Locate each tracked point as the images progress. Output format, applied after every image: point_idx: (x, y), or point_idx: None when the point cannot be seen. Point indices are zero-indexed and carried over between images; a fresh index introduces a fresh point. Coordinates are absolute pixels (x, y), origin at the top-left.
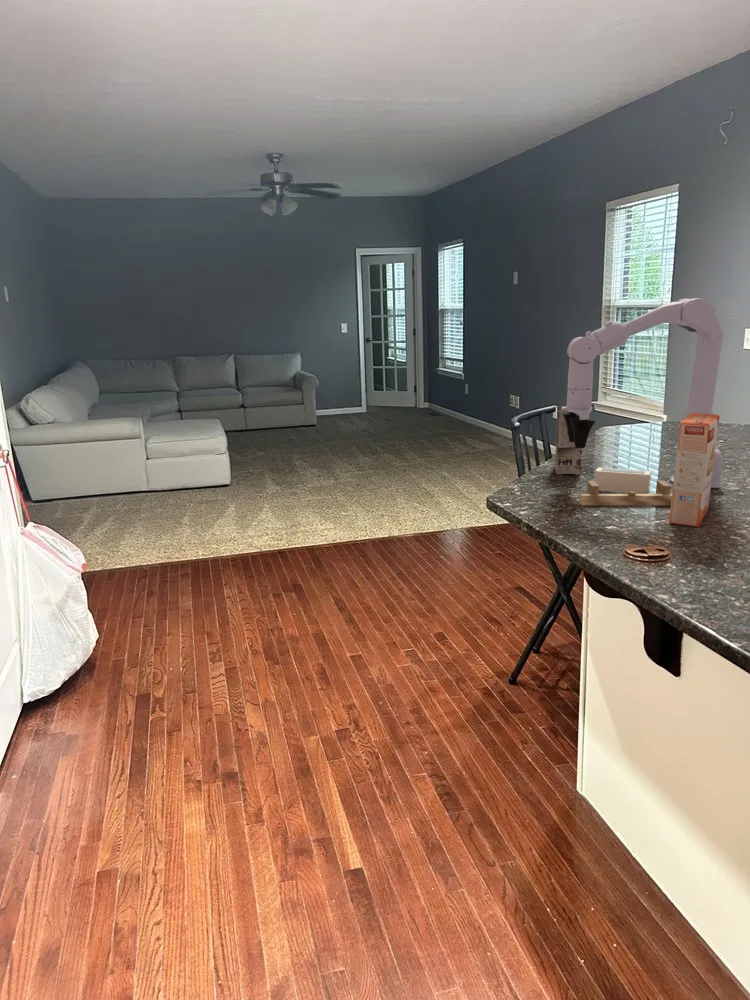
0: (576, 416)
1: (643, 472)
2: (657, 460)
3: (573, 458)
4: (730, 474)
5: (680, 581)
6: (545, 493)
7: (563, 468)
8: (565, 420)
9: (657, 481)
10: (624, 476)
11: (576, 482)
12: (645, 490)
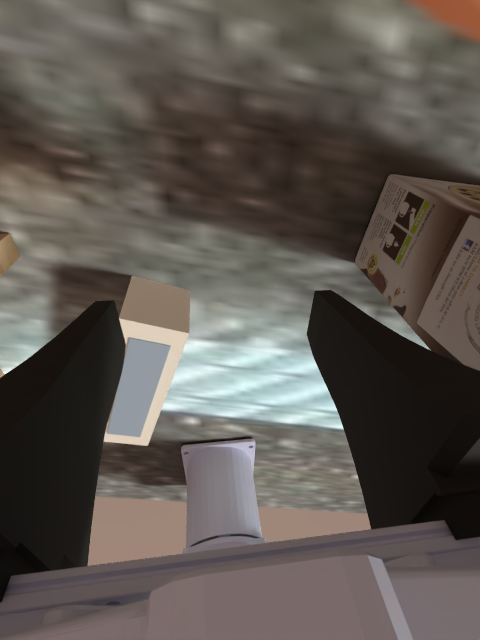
0: (398, 486)
1: (119, 433)
2: None
3: (396, 269)
4: (294, 500)
5: None
6: (19, 38)
7: (388, 211)
8: (456, 372)
9: None
10: None
11: (251, 234)
12: None
